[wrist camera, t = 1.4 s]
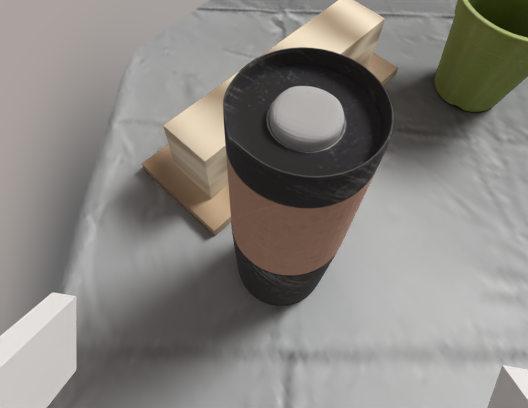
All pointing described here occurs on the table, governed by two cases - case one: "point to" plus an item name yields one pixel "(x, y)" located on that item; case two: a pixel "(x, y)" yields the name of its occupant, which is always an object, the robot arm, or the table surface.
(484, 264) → the table surface
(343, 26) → the ridge
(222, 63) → the table surface
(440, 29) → the table surface
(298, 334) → the table surface
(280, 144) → the travel mug
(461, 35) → the plant pot
